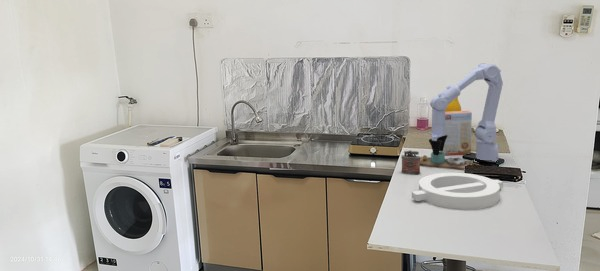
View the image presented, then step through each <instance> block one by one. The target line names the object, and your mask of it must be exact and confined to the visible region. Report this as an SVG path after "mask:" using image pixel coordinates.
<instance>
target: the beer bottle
mask: <svg viewBox="0 0 600 271" xmlns="http://www.w3.org/2000/svg"><path fill="white" fill-rule="evenodd" d="M458 97H459V96H458ZM458 97H457V98H455V99H454V100H453V101H452V102H450V103H449V104H448V106H447V108H446V109H445V112H448V111H462V107H461V104H460V102H459V99H458Z"/></svg>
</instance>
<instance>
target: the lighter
mask: <svg viewBox="0 0 600 271" xmlns="http://www.w3.org/2000/svg"><path fill="white" fill-rule="evenodd" d="M403 153H404V154H402V155H401V172H400V173H401V174H404V175H406V174H407V175H421V166H420V157H421V156H420V155H419V154H420V152H419V151H417V150H413V151H412V149H410V150H404V152H403Z"/></svg>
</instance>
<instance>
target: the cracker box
mask: <svg viewBox="0 0 600 271" xmlns="http://www.w3.org/2000/svg"><path fill="white" fill-rule="evenodd" d="M472 115H473V114H472V111H470V110H461V111H448V112H445V133H446V135H447V136H448V137H447V138H446V141H445V144H444V148H443V151H439V152H444V153H445V156H458V155H459V156H465V155H466V154H468V153H471V154H472V152H471V151H472V118H473V117H472ZM466 156H467V155H466Z"/></svg>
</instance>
